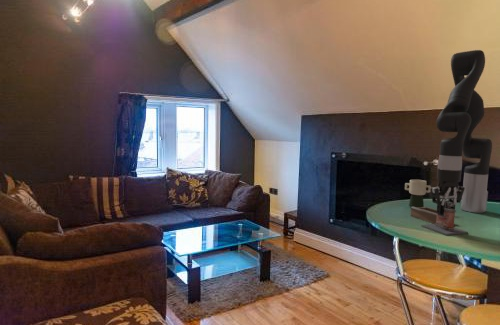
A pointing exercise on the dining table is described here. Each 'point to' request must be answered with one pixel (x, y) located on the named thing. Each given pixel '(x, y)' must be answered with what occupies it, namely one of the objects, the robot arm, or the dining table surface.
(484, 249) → the dining table surface
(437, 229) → the mat
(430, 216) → the holder
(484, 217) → the dining table surface
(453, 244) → the dining table surface
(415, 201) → the character mug
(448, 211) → the lighter
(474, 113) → the robot arm
